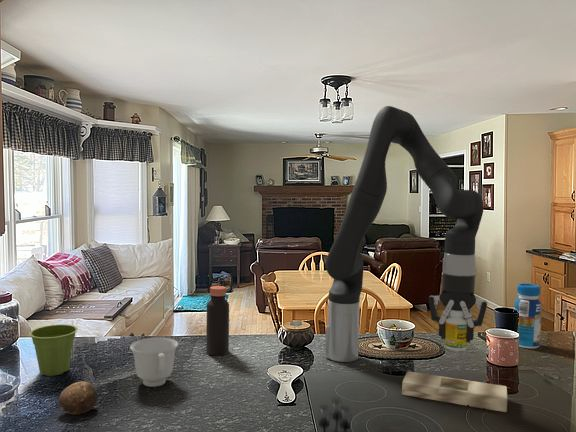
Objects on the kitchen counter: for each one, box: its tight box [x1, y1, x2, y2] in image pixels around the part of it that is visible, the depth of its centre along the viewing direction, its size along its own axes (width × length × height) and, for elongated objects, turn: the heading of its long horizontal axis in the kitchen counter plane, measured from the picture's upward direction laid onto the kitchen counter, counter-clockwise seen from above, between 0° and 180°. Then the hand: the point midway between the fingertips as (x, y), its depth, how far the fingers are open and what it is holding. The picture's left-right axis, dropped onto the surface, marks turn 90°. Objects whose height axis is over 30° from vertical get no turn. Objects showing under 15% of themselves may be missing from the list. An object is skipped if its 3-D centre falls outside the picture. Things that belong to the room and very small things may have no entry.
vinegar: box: [205, 285, 230, 357], centre depth 155 cm, size 7×7×20 cm
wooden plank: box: [401, 370, 508, 413], centre depth 127 cm, size 24×8×3 cm, turn 68°
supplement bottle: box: [444, 310, 468, 352], centre depth 126 cm, size 5×5×10 cm
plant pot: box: [28, 324, 78, 377], centre depth 138 cm, size 12×12×11 cm
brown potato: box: [58, 380, 99, 415], centre depth 116 cm, size 8×8×6 cm
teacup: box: [129, 337, 179, 388], centre depth 131 cm, size 12×15×10 cm
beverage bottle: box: [513, 282, 543, 350], centre depth 168 cm, size 8×8×20 cm
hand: (455, 339), depth 126 cm, fingers closed on supplement bottle, 5 cm apart
